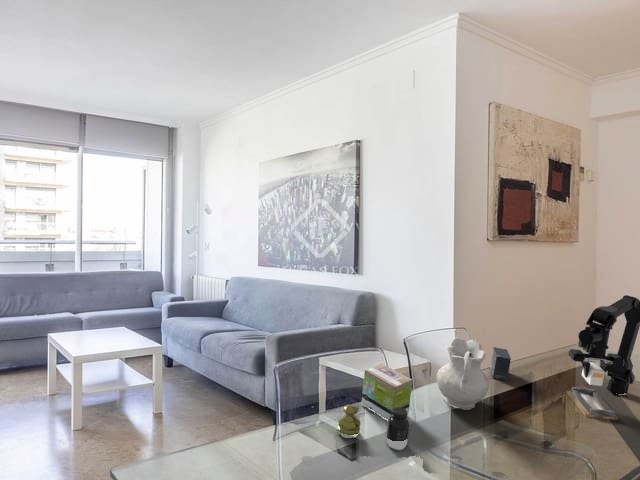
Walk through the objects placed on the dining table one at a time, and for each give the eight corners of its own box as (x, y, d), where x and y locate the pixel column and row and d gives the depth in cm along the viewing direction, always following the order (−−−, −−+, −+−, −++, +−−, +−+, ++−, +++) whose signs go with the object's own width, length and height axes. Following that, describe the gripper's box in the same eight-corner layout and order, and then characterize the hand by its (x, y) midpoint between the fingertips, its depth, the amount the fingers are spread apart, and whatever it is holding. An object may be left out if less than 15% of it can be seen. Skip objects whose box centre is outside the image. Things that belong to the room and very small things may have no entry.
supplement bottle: (408, 441, 163) (412, 408, 160) (404, 453, 156) (409, 419, 154) (388, 436, 165) (391, 403, 163) (383, 447, 159) (387, 413, 156)
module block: (593, 376, 198) (595, 362, 197) (602, 386, 191) (605, 371, 189) (581, 375, 199) (584, 361, 198) (589, 384, 191) (592, 370, 190)
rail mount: (596, 396, 204) (598, 389, 203) (618, 420, 186) (619, 413, 186) (566, 393, 205) (568, 386, 204) (585, 416, 187) (586, 409, 187)
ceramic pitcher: (492, 424, 179) (507, 360, 175) (439, 416, 179) (453, 352, 174) (475, 394, 200) (488, 337, 196) (427, 387, 200) (439, 330, 195)
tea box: (360, 406, 183) (363, 369, 180) (378, 398, 189) (382, 362, 186) (391, 425, 172) (395, 386, 169) (409, 416, 178) (413, 378, 175)
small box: (508, 381, 212) (511, 358, 210) (492, 378, 213) (495, 356, 211) (504, 370, 222) (507, 348, 220) (489, 368, 223) (492, 346, 221)
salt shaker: (332, 432, 165) (335, 405, 163) (347, 424, 170) (349, 397, 168) (349, 442, 160) (352, 414, 158) (363, 433, 165) (366, 406, 163)
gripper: (614, 335, 198) (607, 371, 202) (566, 330, 200) (560, 365, 203) (628, 346, 188) (620, 384, 191) (577, 340, 190) (570, 378, 193)
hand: (592, 377), depth 195 cm, fingers closed on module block, 4 cm apart
